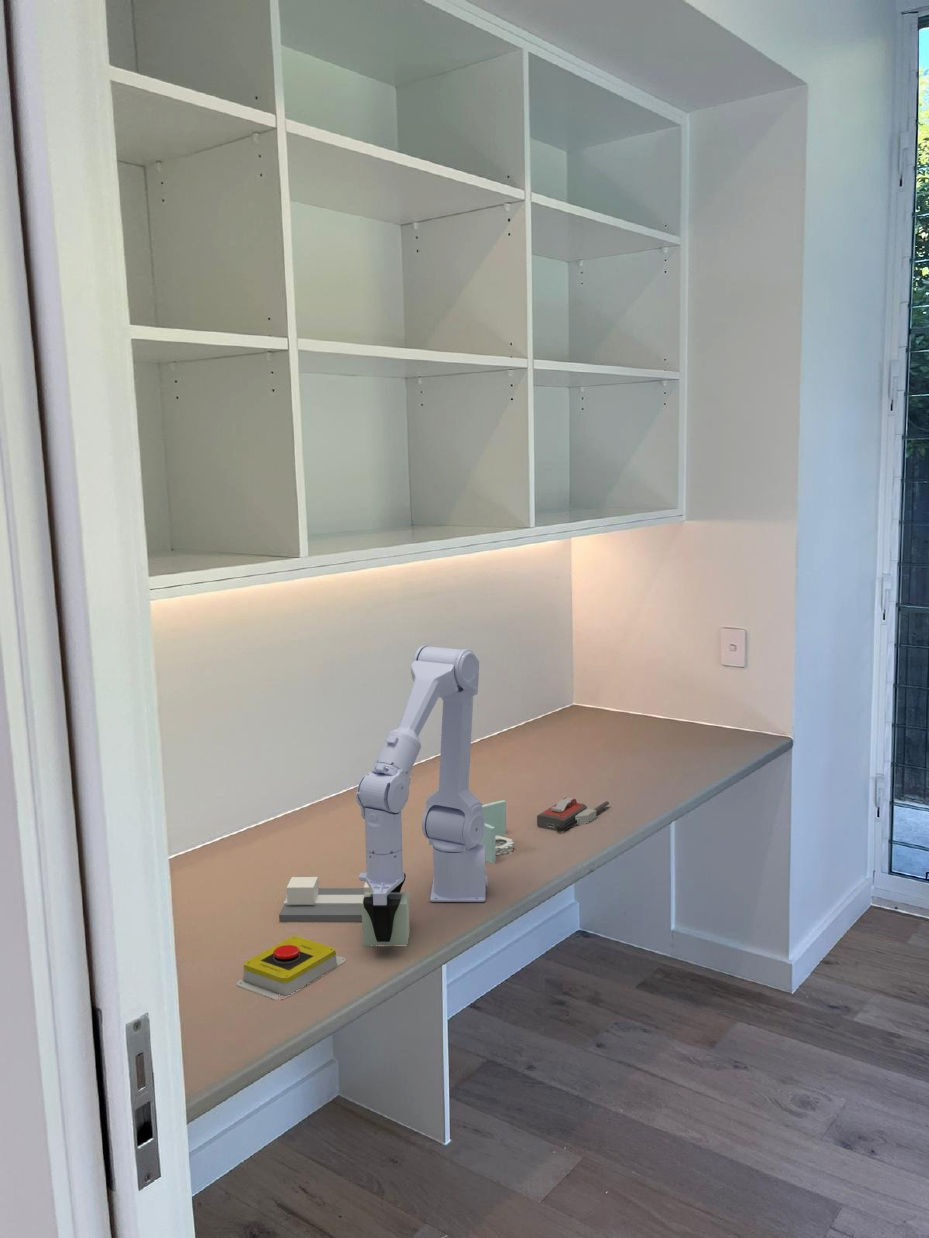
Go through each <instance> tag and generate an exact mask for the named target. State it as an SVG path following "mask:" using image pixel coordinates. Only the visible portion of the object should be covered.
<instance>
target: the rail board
mask: <svg viewBox="0 0 929 1238" xmlns="http://www.w3.org/2000/svg"><path fill="white" fill-rule="evenodd" d="M364 882H365V881H364ZM365 892H372V891H371V889H370V888H369V886H368V884H367V883H366V882H365V883H364V886H363V888H362V887H361V888H360V887H357V888H356V887H352V888H351V887H346V888H345V887H344V888H343V887H339V888H338V887H335V888H334V887H329V888H328V887H320V888H319V877H318V876H291V878H290V880H289V882H288V884H287V886H286V896H285V897H286V898H285V899H284V901H283V906H282V908H281V910H280V912H279V914H278V919H279V920H278V921H279V923H281V922H282V923H290V922H291V923H310V922H311V923H313V922H314V923H325V922H326V923H331V922H332V923H340V922H341V923H362V901H363V898H364V895H365Z"/></svg>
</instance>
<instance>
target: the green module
mask: <svg viewBox="0 0 929 1238" xmlns="http://www.w3.org/2000/svg"><path fill="white" fill-rule="evenodd" d="M364 897H373V892H365V895H364ZM388 897H389V899H401V900H400V904H399V906H398V909H397V911H396V913H395V916H394V921H393V929H392V935H391V940H390V942H377V940H376V937H375V934H374V929H373V925H372V922H371V919H370V917H369V914H368V913H367V911H366V910H365V908H364V905H363V901H362V922H361V931H362V936H361V937H362V947H379V946H378V945H407V944H409V940H408V939H410V935H409V934H411V933H410V931H411V930H410V925H411V924H410V893H409V892H400V893H398V892H390V893H389V894H388ZM363 900H364V898H363ZM371 945H372V946H371ZM376 945H377V946H376ZM407 946H408V945H407Z"/></svg>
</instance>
